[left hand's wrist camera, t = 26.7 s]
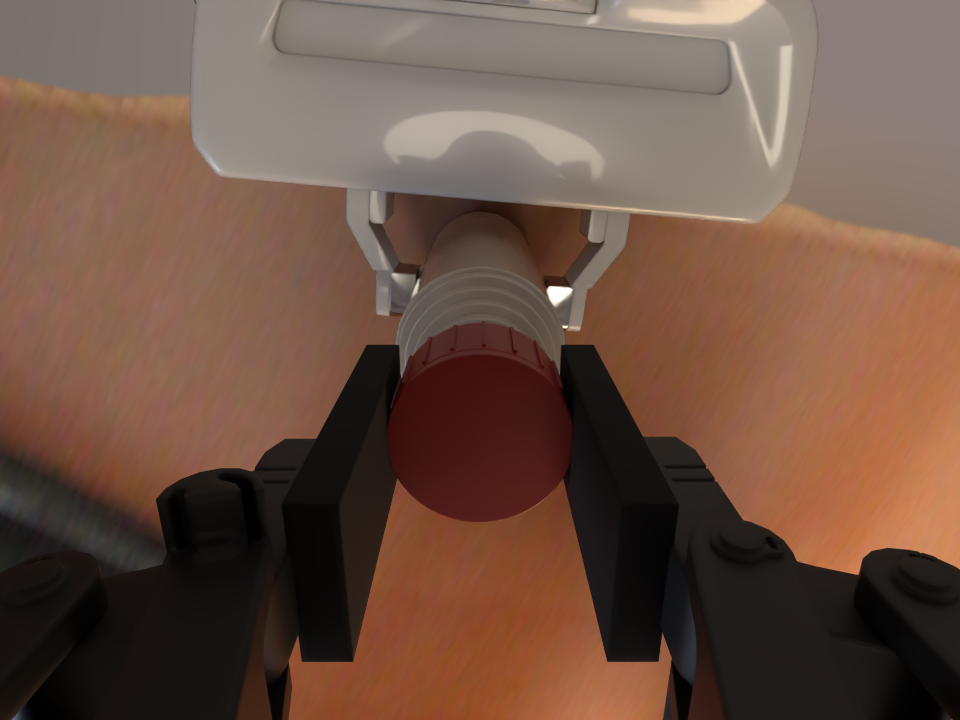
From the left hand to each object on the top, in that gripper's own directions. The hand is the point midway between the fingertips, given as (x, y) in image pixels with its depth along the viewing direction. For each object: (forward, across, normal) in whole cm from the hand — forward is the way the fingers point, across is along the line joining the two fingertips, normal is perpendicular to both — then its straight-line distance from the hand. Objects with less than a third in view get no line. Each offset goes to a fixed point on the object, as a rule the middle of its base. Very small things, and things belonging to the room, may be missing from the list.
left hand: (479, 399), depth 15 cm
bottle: (+16, 0, 0) cm, 16 cm away
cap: (-2, 0, 0) cm, 2 cm away
